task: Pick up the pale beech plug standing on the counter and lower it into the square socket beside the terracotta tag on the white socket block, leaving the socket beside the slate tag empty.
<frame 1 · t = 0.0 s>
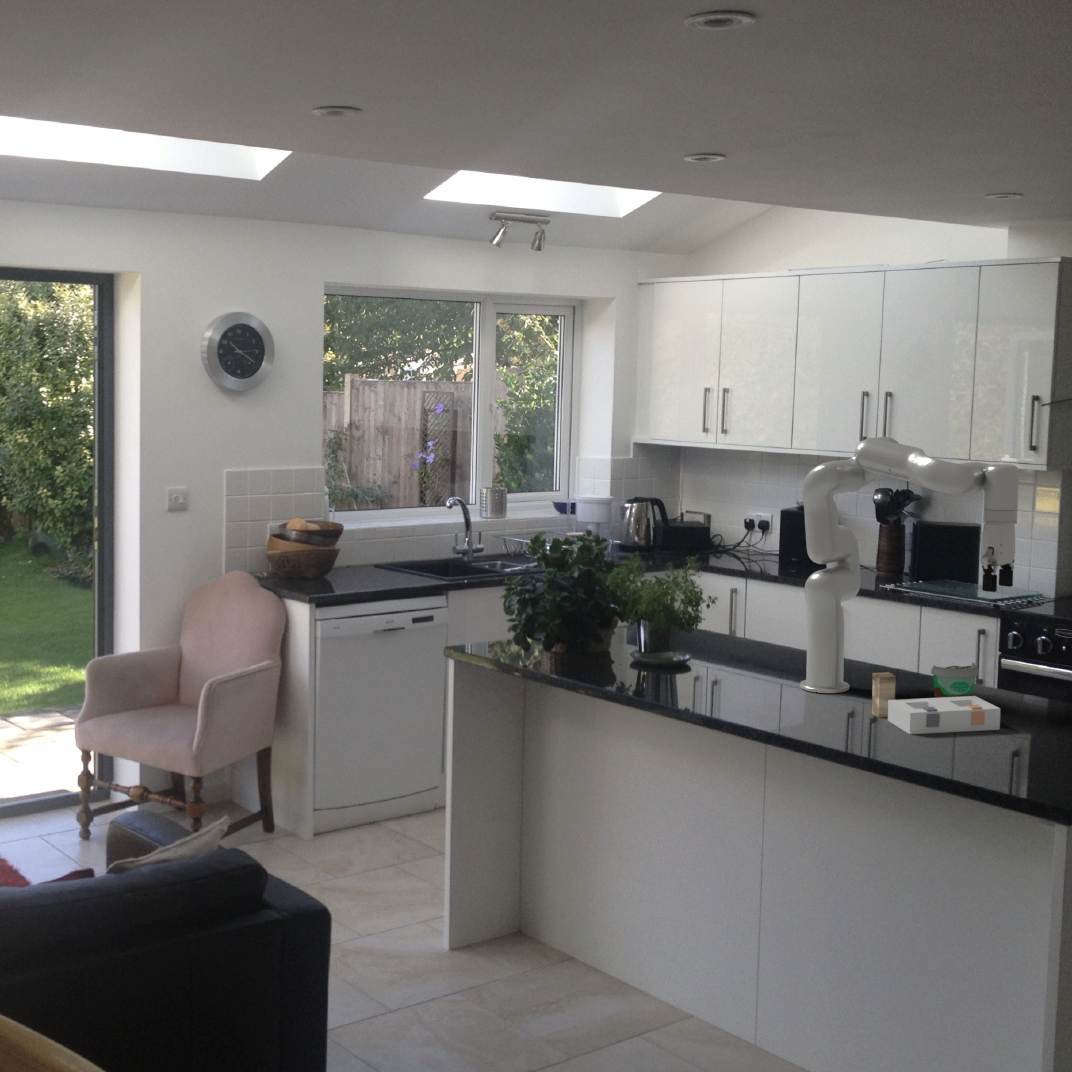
hand: (997, 588, 302), 31 cm above the counter, tool pointing down, fingers open, 9 cm apart
plug: (883, 715, 308), on the counter
food container: (958, 706, 316), on the counter
socket block: (942, 725, 299), on the counter
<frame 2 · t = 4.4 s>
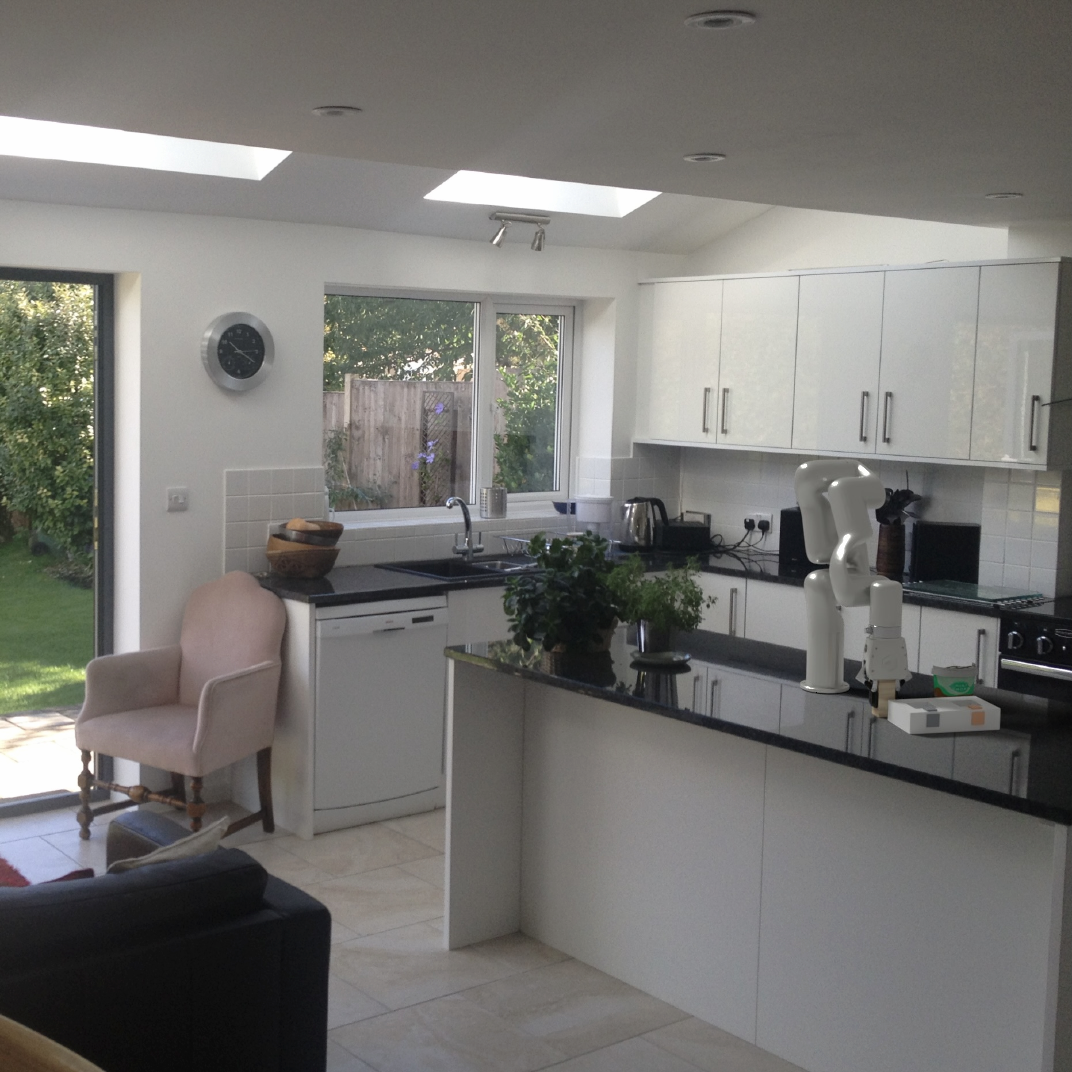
hand: (883, 705, 308), 2 cm above the counter, tool pointing down, fingers closed on plug, 4 cm apart
plug: (883, 715, 308), on the counter, touching gripper
everything else where it was.
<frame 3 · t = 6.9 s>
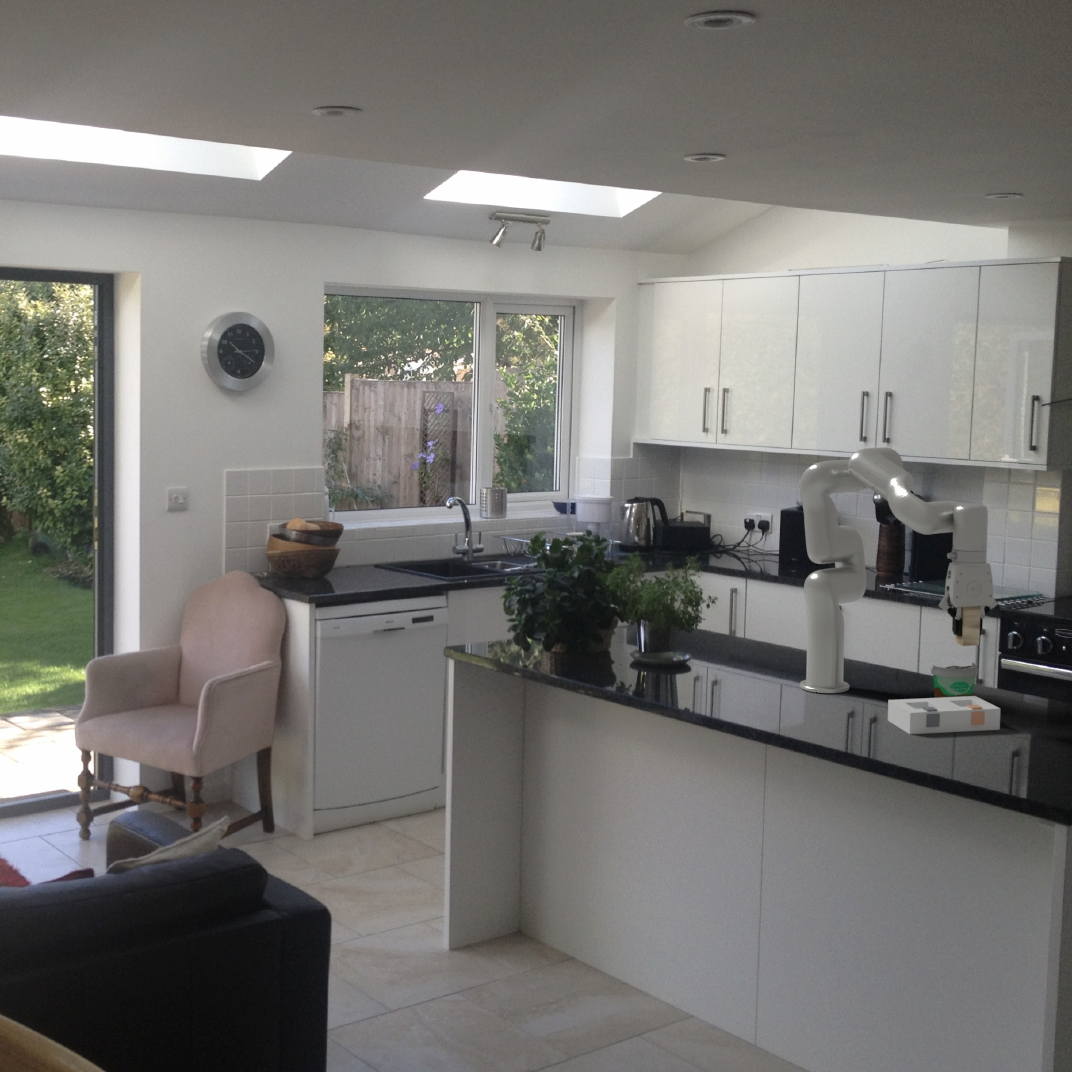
hand: (967, 634, 297), 21 cm above the counter, tool pointing down, fingers closed on plug, 4 cm apart
plug: (966, 643, 297), point 19 cm above the counter, touching gripper
everything else where it was.
when the fingers open (6 cm above the counter, at t = 9.9 s): plug drops 2 cm, resting on socket block.
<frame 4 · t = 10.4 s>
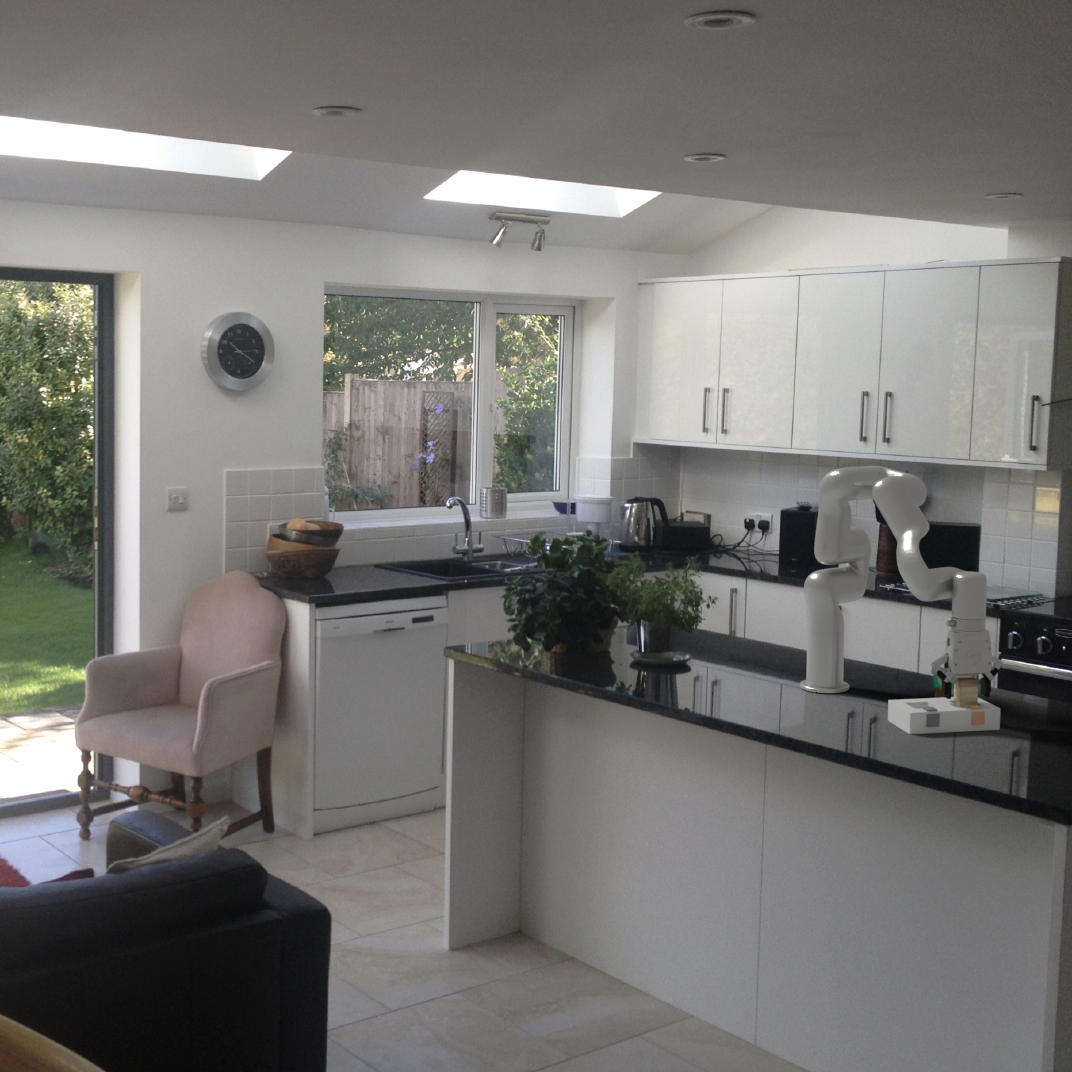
hand: (965, 696, 299), 7 cm above the counter, tool pointing down, fingers open, 9 cm apart
plug: (964, 719, 299), point 1 cm above the counter, touching socket block
everything else where it was.
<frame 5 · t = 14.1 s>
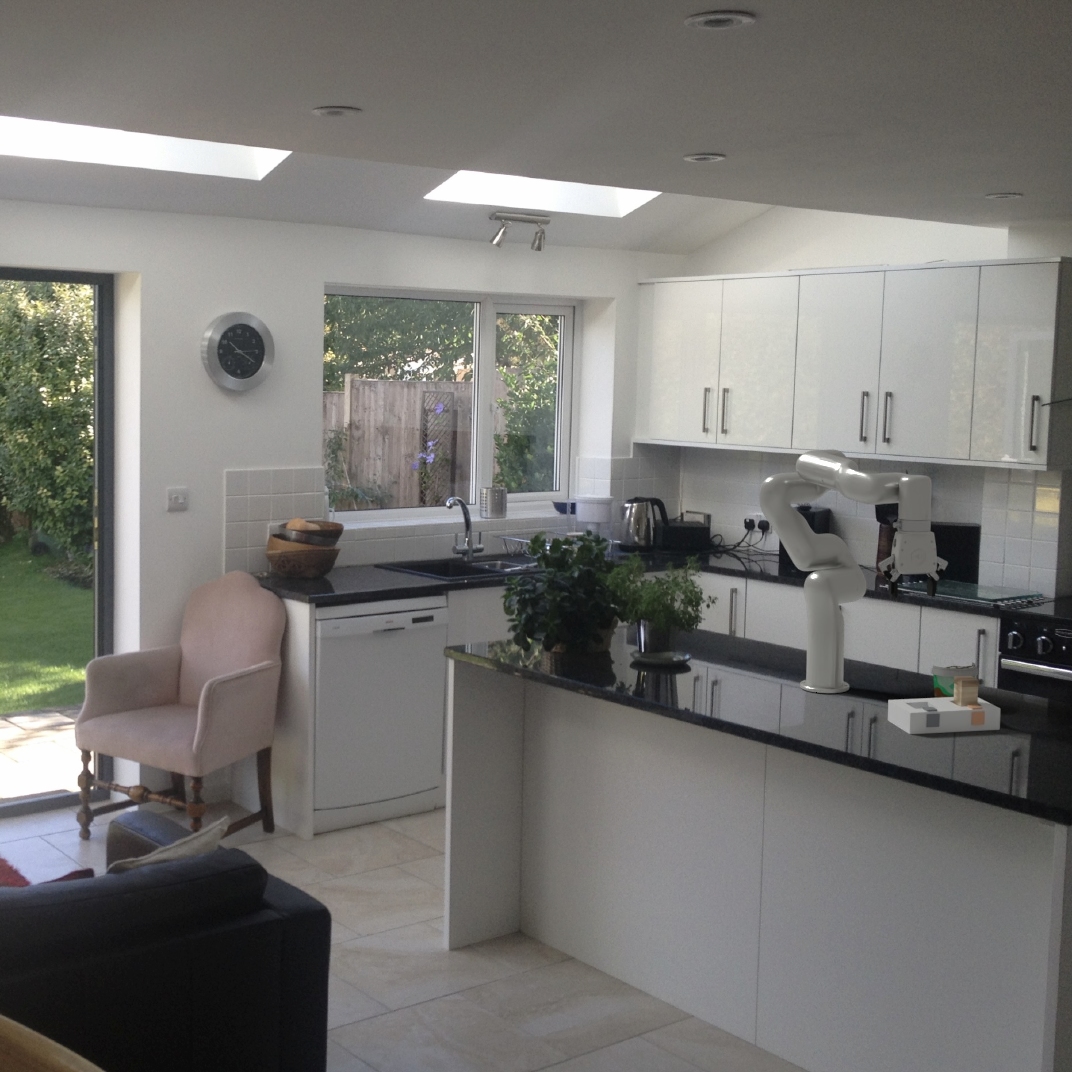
hand: (912, 596, 309), 28 cm above the counter, tool pointing down, fingers open, 9 cm apart
nothing on the counter moved.
at the end: plug 0.0 cm from the target spot on the socket block, point 1.0 cm above the socket block's base; plug tilted 0°; the gripper is holding nothing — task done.
